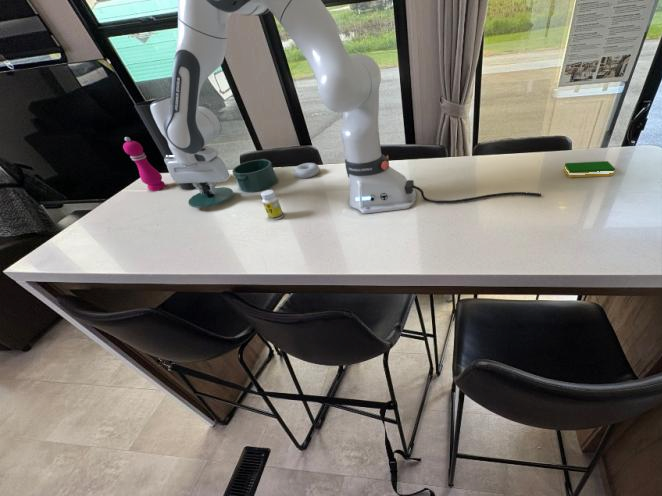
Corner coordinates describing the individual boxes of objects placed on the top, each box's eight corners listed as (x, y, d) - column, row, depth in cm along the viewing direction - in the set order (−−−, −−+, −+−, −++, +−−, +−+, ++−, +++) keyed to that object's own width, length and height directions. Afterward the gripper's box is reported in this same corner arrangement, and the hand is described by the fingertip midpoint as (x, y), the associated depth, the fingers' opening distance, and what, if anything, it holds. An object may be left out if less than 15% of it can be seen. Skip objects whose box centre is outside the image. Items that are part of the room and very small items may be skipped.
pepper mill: (144, 191, 133) (110, 139, 119) (159, 183, 138) (128, 133, 124) (156, 192, 131) (123, 140, 117) (171, 185, 135) (141, 134, 122)
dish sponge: (613, 176, 106) (615, 168, 104) (568, 178, 107) (570, 170, 106) (605, 167, 111) (607, 160, 109) (563, 169, 113) (564, 162, 111)
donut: (316, 179, 126) (323, 168, 134) (313, 170, 124) (320, 160, 131) (292, 180, 128) (300, 170, 135) (289, 171, 125) (297, 161, 132)
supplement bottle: (266, 218, 105) (256, 194, 99) (277, 212, 108) (268, 188, 102) (275, 221, 103) (265, 196, 97) (286, 215, 106) (277, 190, 100)
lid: (241, 189, 122) (235, 176, 118) (220, 208, 111) (213, 194, 107) (205, 190, 124) (198, 177, 121) (180, 209, 113) (172, 195, 110)
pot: (285, 173, 134) (279, 156, 129) (265, 194, 119) (257, 176, 115) (253, 175, 136) (246, 158, 131) (230, 195, 121) (221, 177, 117)
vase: (192, 179, 138) (149, 99, 117) (212, 179, 136) (172, 98, 116) (176, 190, 131) (127, 106, 110) (197, 190, 129) (151, 105, 108)
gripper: (155, 158, 106) (178, 198, 115) (211, 155, 103) (230, 196, 112) (167, 152, 110) (189, 190, 120) (221, 149, 107) (238, 188, 117)
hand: (209, 193), depth 116 cm, fingers closed on lid, 2 cm apart
